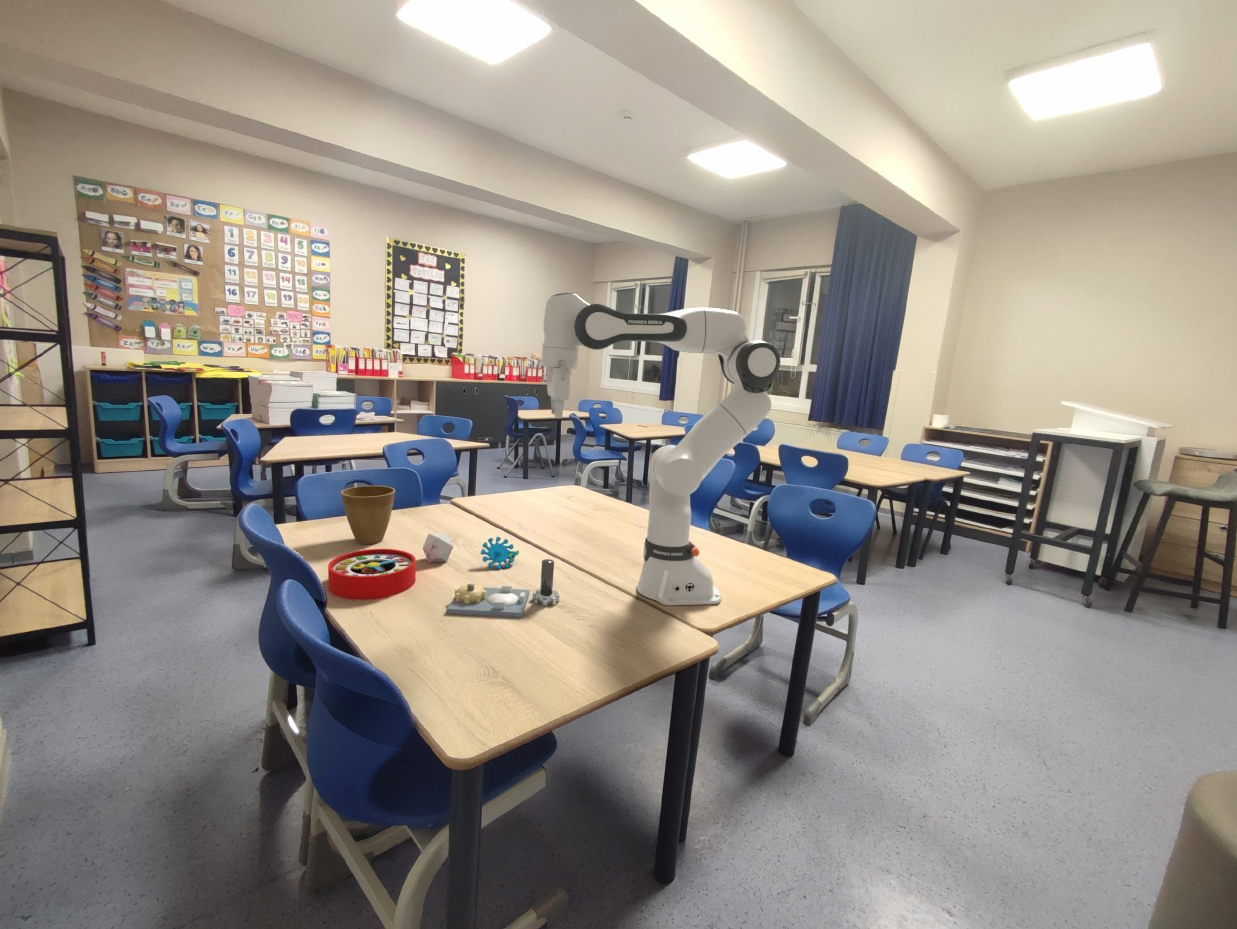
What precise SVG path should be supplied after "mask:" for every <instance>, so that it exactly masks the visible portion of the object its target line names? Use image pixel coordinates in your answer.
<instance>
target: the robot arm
mask: <svg viewBox="0 0 1237 929" xmlns="http://www.w3.org/2000/svg"><path fill="white" fill-rule="evenodd" d="M545 304H546V305H545V308H544V315H543V316H544V317H543V334H544V340H543V343H542V350H541V367H545V368H546V390H547V395H548V396H549V397H550V403H551V404H550V405H551V414H552V415H554V418H556V419H562V418H563V414H564V413H563V412H564V407H565V401H569V399H570V392H571V390H570V389H571V388H570V387H571V386H570V385H571V376H572V374H573V373H572V372H573V369H574V370H577V369H578V358H579V347H581V346H583V347H585V348H588V349H589V350H592V351H601V350H606V349H608V348H609V347H610V346H612V345H613V344H616V343H621V342H649V343H650V342H652V343H659V344H662V345H665V346H667V347H668V348H670V349H671V350H673V351H677V352H682V353H688V354H716V355H717V356H718V359H719V363H720V367H721V372H722V374H723V377H724V378H725V379H726V380H727V381H728V382H729V383H731V384H732V385H733V387H732V389H731V391H730V392H729V394H728V395H727V396H726V397H725V398H723V400H721V401H720V402H719V403H718V404H716V405H715V406H714V407H713V408H712V409H710V410H709V411H708V412H706V414H705V415H703V417H701V418H699V419H698V421H696V422H695V424H694V425H693V426H692V428H691V429H690V430H689V431H688V432H687V433H686V435H685V436H683V438H681V440H680V441H679V442H678V443H677V444H676V445H675V444H667V445H663V446H661V447H659V448H658V449H656V450H655V451H654V452H653V454H652V456H651V459H650V463H649V465H650V466H649V486H648V487H649V491H648V494H649V497H648V499H649V500H648V501H649V502H648V503H649V506H648V507H649V508H648V509H649V510H648V522H647V524H648V525H647V534H646V537H645V540H644V545H643V559H644V560H643V564H642V570H641V572H640V577H639V578H638V582H637V585H636V588H635V589H636V590H637V592H638V593H639V594H640V595H641V596H644V597H646V598H649V599H651V600H655V601H656V602H659V603H660V604H662V605H664V606H688V605H689V606H693V605H695V606H697V605H717V603H718V604H719V603H720V602H721V600H722V597H721V596H722V595H721V591H720V590H719V587H718V586H717V585H716V584H714V580H713V579H714V578H713V575H712V572H711V570H710V569H709V568H708V567H707V566H706V565H705V564H704V563H703V562H702V561H700V559H698V558H697V557H698V556H699V555H700V550H699V549H698V547H696V545H695V544H694V543H693V542H692V541H691V540H690V541H689V539H690V529H691V519H692V510H691V495H692V494H693V493H694V492H696V491H697V489H699V488H700V485H701V483H702V481H703V480H704V479H705V478H706V477H707V476H708V474H709V473H710V472H711V471H712V470H713V469H714V467H716V465H717V464H718V463H719V461H720V460H721V459H722V458H723V457H724V456H725V455H726V454H728V453H729V452H730V451H731V450H732V449H733V448H734V447H736V446H737V445H738V444H740V442H741V441H743V440H744V439H745V438H746V437H747V436H749V435H750V434H751V433H752V432H753V431H754V430H755V429H756V428H757V427H758V426H759V425H760V424H761V423H762V422H763V421H764V419H765V418H766V417H767V416H768V414H769V413H770V411H771V409H772V401H771V397H770V396H769V394H768V392H767V391H769V390H771V387H772V385H773V383H774V382H775V381H774V380H775V378H776V376H777V374H778V373H779V370H780V367H781V357H780V353H779V351H778V349H777V348H776V347H775V346H774V345H773V344H772V343H770V342H768V341H765V340H756V339H755V340H752V341H751V340H750V339H749V338H748V335H747V334H746V333H747V325H746V322H745V319H744V317H743V315H742V314H740V313H739V312H737V311H733V310H728V309H722V308H713V307H689V308H681V309H677V310H672V311H668V312H663V313H635V312H634V313H632V312H631V313H630V312H621V311H617V310H615V309H613V308H611V307H609V306H607V305H604V304H601V303H600V304H599V303H592V304H590V303H588V302H586V301H585V300H584V299H582V298H581V297H580V296H579V295H578V294H576V293H573V292H564V293H557V294H553V295H552V296H550V297H549V298H548V299H547V301H546V303H545Z"/></svg>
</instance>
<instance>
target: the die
mask: <svg viewBox="0 0 1237 929" xmlns="http://www.w3.org/2000/svg"><path fill="white" fill-rule="evenodd" d="M453 548H454V545H453V543H452V541H451V538H450V536H449V534H448V532H438V533H437V532H435V533H431V532H430V533H428V534H427V536H426V539H425V541H424V544H423V547H422V550H423V553H424V555H425V558H426V560H427V563H444V562H445V563H447V562H448V560H449V559H450V555H451V553H452V550H453Z"/></svg>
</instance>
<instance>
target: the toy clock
mask: <svg viewBox="0 0 1237 929" xmlns="http://www.w3.org/2000/svg"><path fill="white" fill-rule="evenodd" d="M416 561H417V560H416V557H415V555H414V554H412V553H410V552H408V551H405V550H401V549H394V548H370V549H362V550H355V551H352V552H347V553H344V554H341V555H339V556H337V557H335V558H333V559H332V560H330V562H328V565H327V569H328V570H327V573H328V574H327V575H328V576H327V577H328V579H327V581H328V583H327V584H328V586H327V588H328V591H329V592H330V593H331V594H332V595H333V596H336V597H338V598H342V599H345V600H353V601H356V600H358V601H361V600H362V601H366V600H367V601H368V600H370V601H371V600H378V599H383V598H388V597H394V596H397V595H399V594H401V593H404V592H406V591H408V590H410V589H411V588H413V586H414V585H415V583H416V577H417V575H416V574H417V571H416V568H417V567H416V566H417V563H416Z"/></svg>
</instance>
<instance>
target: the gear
mask: <svg viewBox="0 0 1237 929" xmlns="http://www.w3.org/2000/svg"><path fill="white" fill-rule="evenodd" d="M554 569H555V560H553V559H550V558H548V559H546V558H545V559H542V560H541V573H540V588H538V589H536V591H533V592H532V601H533V604H535V605H541V606H542V607H547V606H551V605H552V606H555V605H557V602H558V603H559V602H560V598H561V594H560V593H559V591H558V590H556V589H554V585H553V584H554V575H555V574H554V571H555V570H554Z"/></svg>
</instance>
